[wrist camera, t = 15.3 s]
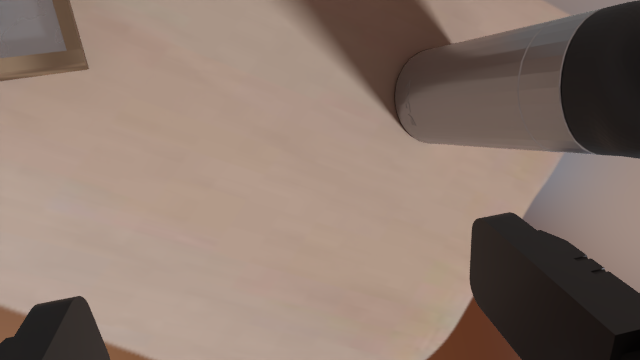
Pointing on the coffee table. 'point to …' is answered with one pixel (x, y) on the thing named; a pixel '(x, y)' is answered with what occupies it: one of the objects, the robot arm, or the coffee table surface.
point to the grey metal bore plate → (29, 28)
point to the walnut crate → (53, 60)
